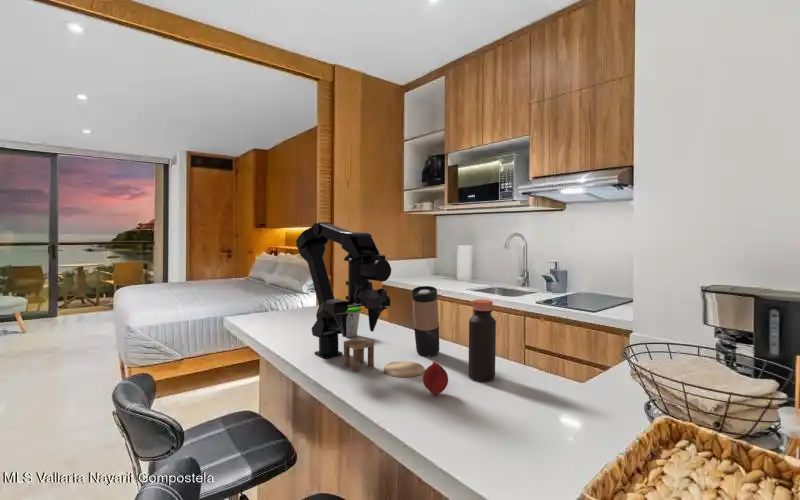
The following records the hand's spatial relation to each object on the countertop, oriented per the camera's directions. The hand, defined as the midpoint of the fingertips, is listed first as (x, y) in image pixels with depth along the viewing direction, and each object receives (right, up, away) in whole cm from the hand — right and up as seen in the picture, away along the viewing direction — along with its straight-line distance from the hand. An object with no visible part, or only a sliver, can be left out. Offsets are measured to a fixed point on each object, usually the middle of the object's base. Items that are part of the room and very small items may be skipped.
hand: (358, 333), depth 109 cm
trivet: (+13, -9, -2) cm, 16 cm away
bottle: (+33, -10, -7) cm, 35 cm away
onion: (+20, -10, -18) cm, 29 cm away
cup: (-6, -8, +33) cm, 34 cm away
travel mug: (+20, -8, +13) cm, 25 cm away
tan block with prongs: (0, -9, 0) cm, 9 cm away
